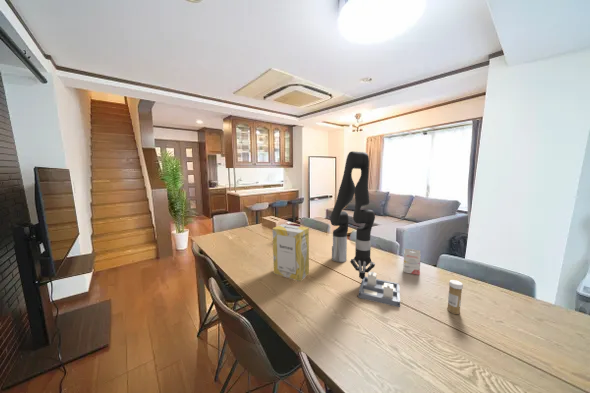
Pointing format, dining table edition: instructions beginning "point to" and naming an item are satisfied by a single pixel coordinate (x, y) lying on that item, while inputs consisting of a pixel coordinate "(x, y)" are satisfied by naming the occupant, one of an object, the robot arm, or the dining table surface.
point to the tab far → (372, 278)
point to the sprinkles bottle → (454, 296)
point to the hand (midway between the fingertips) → (362, 278)
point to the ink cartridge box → (412, 261)
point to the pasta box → (291, 251)
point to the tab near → (388, 290)
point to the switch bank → (379, 292)
